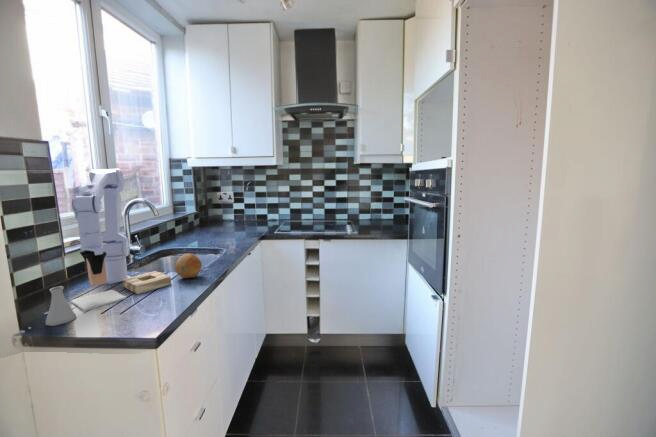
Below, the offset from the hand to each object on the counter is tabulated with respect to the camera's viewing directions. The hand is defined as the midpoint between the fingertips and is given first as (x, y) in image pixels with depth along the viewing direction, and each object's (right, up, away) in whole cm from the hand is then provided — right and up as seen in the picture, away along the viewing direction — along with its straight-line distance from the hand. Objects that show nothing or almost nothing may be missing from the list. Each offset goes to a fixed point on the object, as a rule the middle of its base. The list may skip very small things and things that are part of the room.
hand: (95, 272), depth 105 cm
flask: (-1, -12, -13) cm, 18 cm away
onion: (+21, -6, +23) cm, 32 cm away
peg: (0, -4, +1) cm, 4 cm away
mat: (0, -10, +2) cm, 10 cm away
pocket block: (+9, -8, +15) cm, 19 cm away
